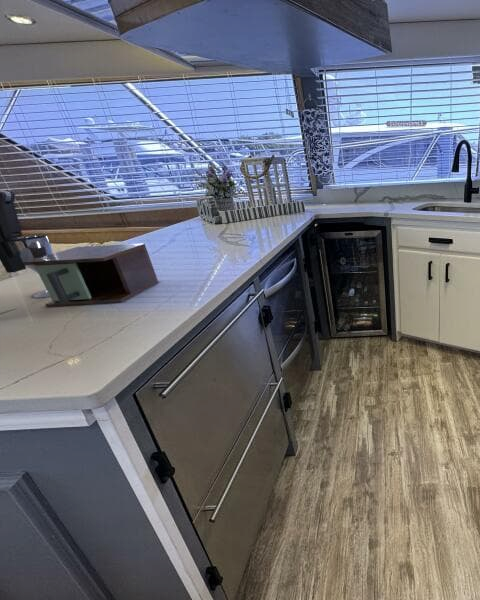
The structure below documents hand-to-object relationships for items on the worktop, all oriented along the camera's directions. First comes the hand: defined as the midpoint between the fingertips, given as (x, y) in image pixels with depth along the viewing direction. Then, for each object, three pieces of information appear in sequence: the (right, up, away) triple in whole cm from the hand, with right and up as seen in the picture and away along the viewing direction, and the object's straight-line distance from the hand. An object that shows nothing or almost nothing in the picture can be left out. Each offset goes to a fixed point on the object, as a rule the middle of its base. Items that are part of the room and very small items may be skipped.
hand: (17, 270), depth 72 cm
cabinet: (+8, -5, +14) cm, 17 cm away
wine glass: (-10, -5, +16) cm, 19 cm away
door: (+5, -7, +5) cm, 11 cm away
